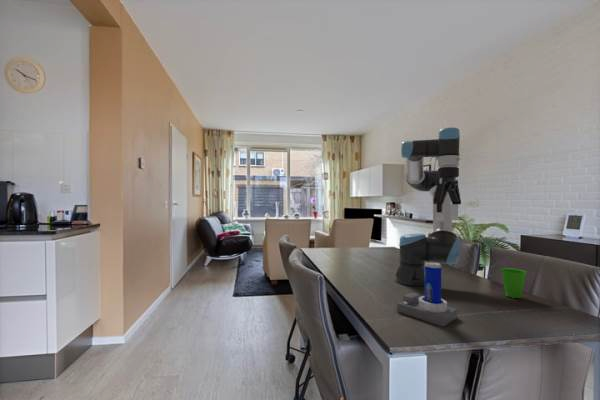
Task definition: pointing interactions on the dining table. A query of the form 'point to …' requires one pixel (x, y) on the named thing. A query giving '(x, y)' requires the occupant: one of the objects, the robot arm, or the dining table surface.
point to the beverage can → (433, 282)
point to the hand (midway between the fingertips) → (447, 220)
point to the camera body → (426, 309)
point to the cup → (513, 281)
